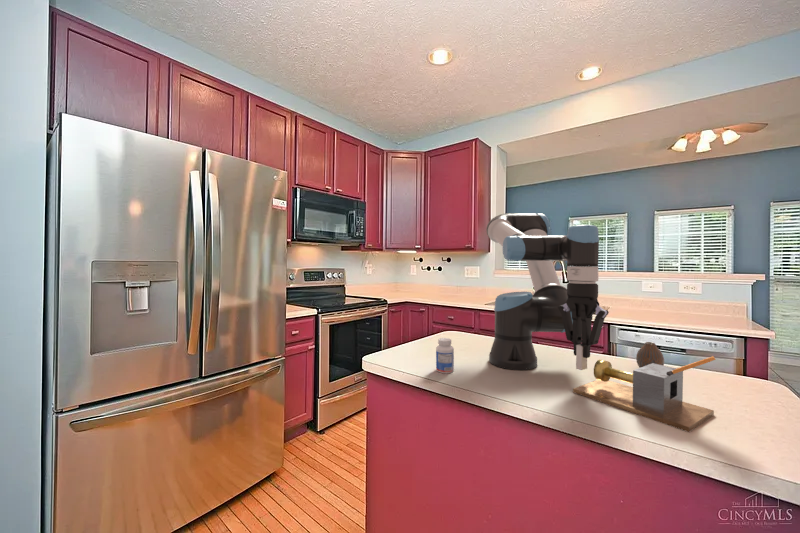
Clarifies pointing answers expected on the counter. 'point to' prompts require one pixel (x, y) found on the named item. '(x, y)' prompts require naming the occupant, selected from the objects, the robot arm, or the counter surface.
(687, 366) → the orange rod
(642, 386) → the hitch block
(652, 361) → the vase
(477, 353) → the counter surface
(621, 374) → the lynch pin
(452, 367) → the pill bottle
